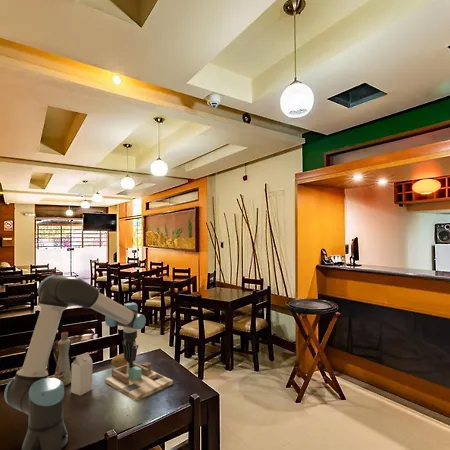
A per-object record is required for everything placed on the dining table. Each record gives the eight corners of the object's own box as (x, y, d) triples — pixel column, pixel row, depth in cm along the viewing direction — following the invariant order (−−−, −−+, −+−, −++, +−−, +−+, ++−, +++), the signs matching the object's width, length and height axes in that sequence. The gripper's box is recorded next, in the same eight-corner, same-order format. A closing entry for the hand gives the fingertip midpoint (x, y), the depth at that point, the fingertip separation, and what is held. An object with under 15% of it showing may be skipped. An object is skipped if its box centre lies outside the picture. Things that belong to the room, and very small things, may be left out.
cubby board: (136, 401, 148) (136, 389, 148) (105, 382, 167) (105, 372, 168) (172, 383, 166) (172, 373, 166) (140, 368, 185) (140, 359, 185)
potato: (108, 367, 186) (108, 354, 186) (130, 361, 195) (130, 349, 195) (114, 373, 179) (114, 359, 179) (137, 366, 188) (137, 353, 188)
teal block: (133, 381, 165) (133, 371, 165) (128, 378, 168) (128, 369, 168) (141, 377, 169) (141, 368, 169) (136, 375, 172) (136, 366, 172)
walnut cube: (146, 372, 175) (146, 365, 175) (141, 371, 176) (141, 364, 177) (150, 370, 178) (151, 363, 179) (145, 368, 180) (145, 362, 180)
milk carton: (70, 392, 156) (71, 355, 157) (83, 386, 162) (83, 350, 163) (80, 396, 153) (80, 357, 154) (92, 389, 159) (92, 353, 160)
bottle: (71, 386, 163) (72, 333, 164) (51, 389, 160) (53, 335, 161) (72, 379, 171) (73, 328, 172) (54, 381, 168) (55, 330, 169)
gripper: (142, 331, 171) (142, 374, 170) (129, 327, 180) (128, 367, 179) (131, 334, 166) (130, 378, 165) (118, 330, 174) (117, 371, 173)
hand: (129, 372), depth 172 cm, fingers closed
